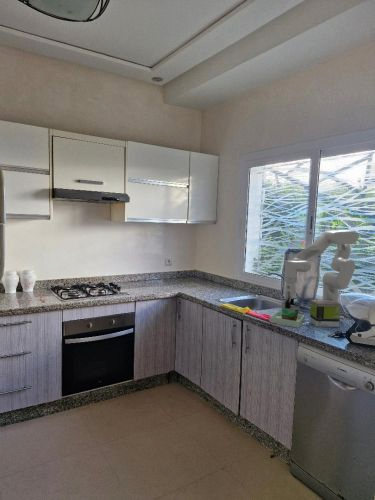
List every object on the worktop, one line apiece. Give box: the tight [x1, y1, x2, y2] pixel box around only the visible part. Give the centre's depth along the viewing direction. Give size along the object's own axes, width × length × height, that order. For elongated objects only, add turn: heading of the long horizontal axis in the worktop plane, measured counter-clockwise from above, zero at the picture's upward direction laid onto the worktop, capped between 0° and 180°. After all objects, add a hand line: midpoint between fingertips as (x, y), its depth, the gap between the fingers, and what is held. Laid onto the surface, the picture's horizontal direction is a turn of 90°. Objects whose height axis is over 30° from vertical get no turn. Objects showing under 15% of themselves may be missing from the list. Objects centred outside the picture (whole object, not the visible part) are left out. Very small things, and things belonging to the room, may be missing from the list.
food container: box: [280, 302, 301, 321], centre depth 221 cm, size 12×6×10 cm, turn 47°
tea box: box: [309, 299, 341, 328], centre depth 219 cm, size 15×10×15 cm
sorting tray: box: [268, 310, 306, 329], centre depth 222 cm, size 18×18×4 cm
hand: (289, 306), depth 222 cm, fingers open, 9 cm apart
